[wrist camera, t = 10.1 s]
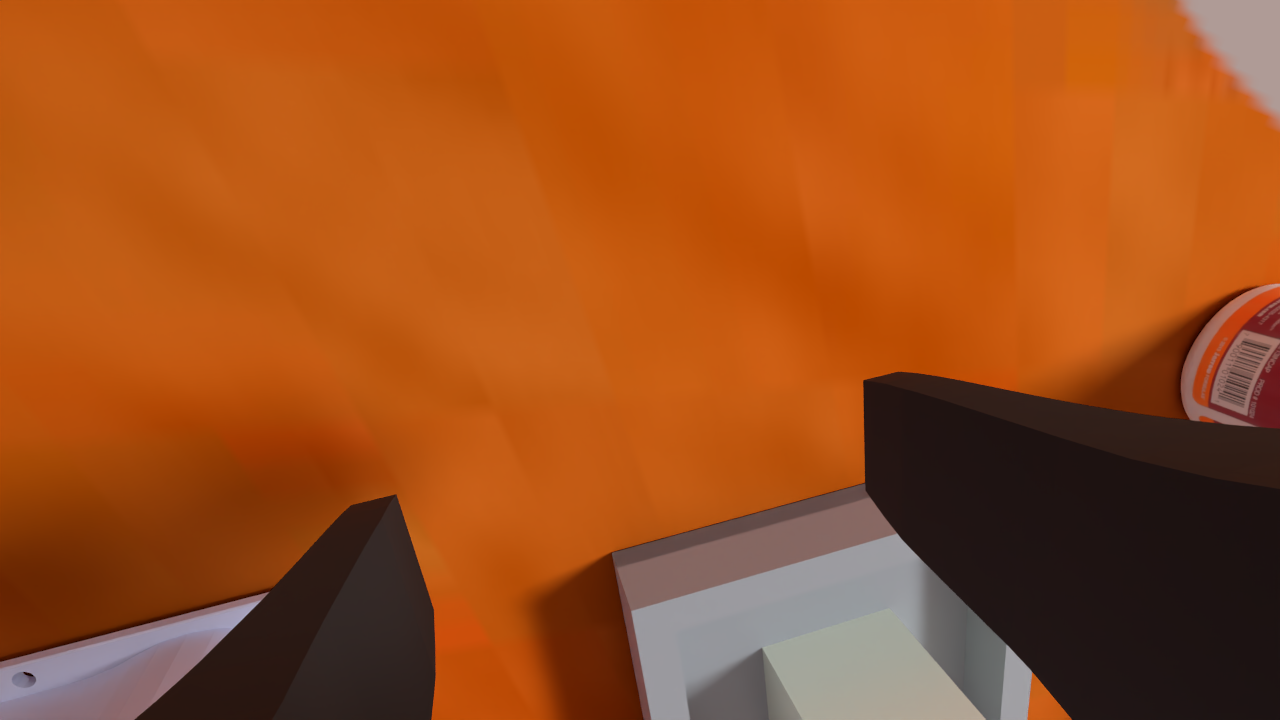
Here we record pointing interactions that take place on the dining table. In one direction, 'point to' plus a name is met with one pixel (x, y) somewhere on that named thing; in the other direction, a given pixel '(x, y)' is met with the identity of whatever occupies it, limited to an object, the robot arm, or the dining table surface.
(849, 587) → the tray
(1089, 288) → the dining table surface
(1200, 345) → the pill bottle
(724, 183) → the dining table surface
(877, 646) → the block
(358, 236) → the dining table surface
